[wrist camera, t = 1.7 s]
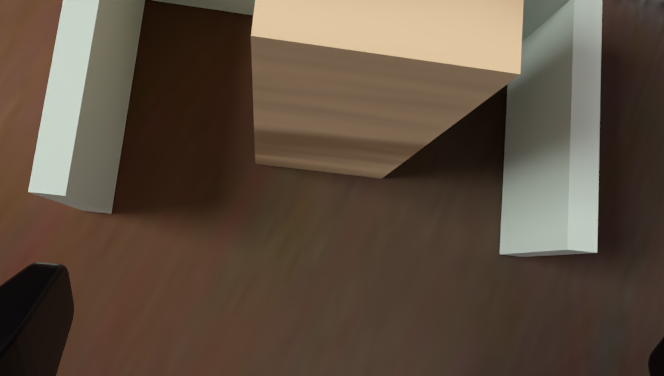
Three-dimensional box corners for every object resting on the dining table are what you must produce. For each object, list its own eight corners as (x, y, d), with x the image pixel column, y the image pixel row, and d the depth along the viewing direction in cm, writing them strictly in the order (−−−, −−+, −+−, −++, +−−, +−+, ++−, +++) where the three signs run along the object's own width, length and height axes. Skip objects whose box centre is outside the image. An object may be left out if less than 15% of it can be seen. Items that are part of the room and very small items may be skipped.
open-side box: (523, 256, 22) (597, 252, 18) (83, 210, 21) (28, 191, 16) (532, 29, 24) (602, -33, 19) (123, -33, 22) (85, -120, 17)
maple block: (381, 178, 22) (520, 74, 10) (255, 163, 22) (250, 35, 10) (391, 59, 23) (530, -164, 11) (269, 41, 22) (281, -212, 11)
